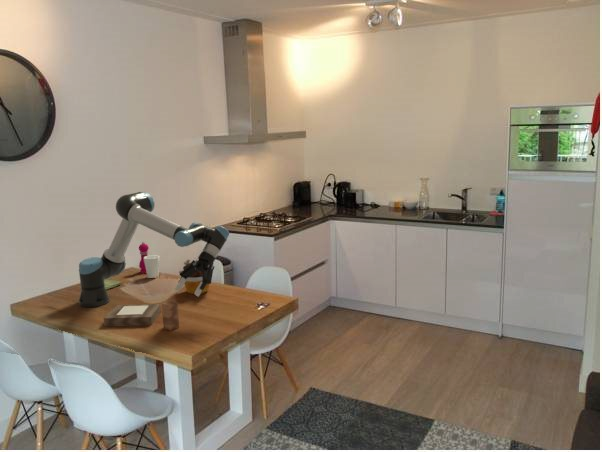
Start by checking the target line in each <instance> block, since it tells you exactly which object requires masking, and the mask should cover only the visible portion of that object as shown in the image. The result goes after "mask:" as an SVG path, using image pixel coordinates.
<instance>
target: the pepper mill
mask: <svg viewBox="0 0 602 452" xmlns="http://www.w3.org/2000/svg"><path fill="white" fill-rule="evenodd" d="M149 249H150V248H149V245H148V244H146V242H145V241H141V244H140V245H139V246H138V250H139V255H140V261H139V265H138V267H139V268H140V273H141V274H147V273H146V267H145V263H144V257H145V256H149V251H148V250H149Z"/></svg>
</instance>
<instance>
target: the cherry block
mask: <svg viewBox="0 0 602 452" xmlns="http://www.w3.org/2000/svg"><path fill="white" fill-rule="evenodd" d="M178 305H179V304H178V302H177V301H175V300H168V301H167V300H166V301H165V302H162V303H161V313H162V324H163V325H162V326H163V329H165V330H168V331H173V330H176V329H178V328H180V321H179V306H178Z"/></svg>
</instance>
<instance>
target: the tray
mask: <svg viewBox="0 0 602 452" xmlns="http://www.w3.org/2000/svg"><path fill="white" fill-rule="evenodd" d="M160 313H162V307H161V304H160V303H149V304H147V303H146V304H118V305H115V306H114V307H112V309H111V310H110V311H109V312H108V313H107V314H106V315H105V316H104V318H103V323H104V325H103V326H104V327H124V326H125V327H129V326H133V327H134V326H152V325H153V324H154V322H155V321H156V319H157V318H158V317H159V314H160Z"/></svg>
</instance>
